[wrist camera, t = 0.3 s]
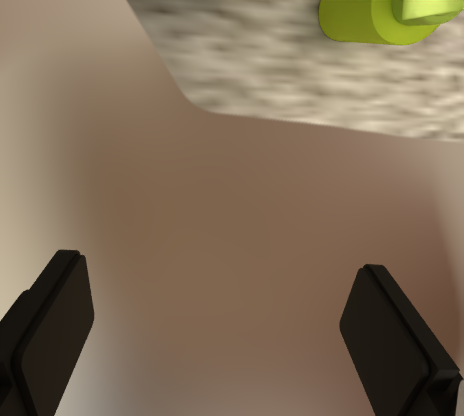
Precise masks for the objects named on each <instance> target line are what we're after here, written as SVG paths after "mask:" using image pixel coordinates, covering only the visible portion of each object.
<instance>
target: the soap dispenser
mask: <svg viewBox="0 0 464 416" xmlns="http://www.w3.org/2000/svg"><path fill="white" fill-rule="evenodd" d="M462 10H464V0H321V2H320V5H319V13H318V15H319V23H320V26H321V28H322V30H323V32H324V33H325V34H326V35H327V36H328V37H329V38H331V39H333V40H336V41H343V42H358V43H373V44H388V45H409V44H413V43H416V42H418V41H420V40H422V39H424V38H426V37H427V36H428V35H430V34H431V33H432V32H433V31H434V30H435V29H436V28H437V27H438V26H439V25H440V24H443V23H445V22H448V21H450V20H451V19H453V18H454V17H455V16H457V15H458V14H459V13H460V12H461V11H462Z"/></svg>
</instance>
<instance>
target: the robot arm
mask: <svg viewBox="0 0 464 416" xmlns="http://www.w3.org/2000/svg"><path fill="white" fill-rule="evenodd" d="M93 321H94V309H93V303H92V296H91V290H90V283H89V277H88V270H87V264H86V258H85V256H84V255H80V252H79V251H77V250H58V251H57V252H56V254H55V255H54V256H53V258H52V259H51V260H50V262H49V263H48V264H47V266H46V267H45V269H44V270H43V271H42V273H41V274H40V275H39V277H38V278H37V279H36V281H35V282H34V284H33V285H32V286H31V288H30V289H29V290H26V291H23V292H22V294H21V295H20V296H19V297H18V298H17V300H16V301H15V302H14V304H13V305H12V306H11V308H10V309H9V310H8V312H7V313H6V314H5V316H4V317H3V318H2V320H1V321H0V416H54V415H55V413H56V410H57V408H58V405H59V403H60V401H61V398H62V396H63V393H64V391H65V389H66V386H67V384H68V382H69V379H70V377H71V375H72V372H73V370H74V368H75V365H76V363H77V360H78V358H79V356H80V353H81V351H82V348H83V346H84V344H85V341H86V339H87V337H88V334H89V332H90V330H91V327H92V325H93ZM340 331H341V334H342V337H343V339H344V341H345V344H346V346H347V349H348V351H349V353H350V356H351V358H352V360H353V363H354V365H355V368H356V370H357V372H358V375H359V377H360V380H361V382H362V384H363V387H364V389H365V392H366V394H367V396H368V399H369V401H370V403H371V406H372V408H373V411H374V413H375V415H376V416H464V379H463V378H462V376H461V375H460V373H459V371H460V369H459V368H458V367H457V365H456V364H455V363H454V361H453V360H452V358H451V357H450V356H449V354H448V353H447V352H446V350H445V349H444V347H443V346H442V345H441V343H440V342H439V341H438V339H437V338H436V336H435V335H434V334H433V332H432V331H431V329H430V328H429V327H428V325H427V324H426V323H425V321H424V320H423V319H422V317H421V316H420V315H419V313H418V312H417V310H416V309H415V307H414V306H413V305H412V303H411V302H410V301H409V299H408V298H407V296H406V295H405V294H404V293H403V291H402V290H401V288H400V287H399V285H398V284H397V283H396V281H395V280H394V279H393V277H392V276H391V275H390V273H389V272H388V271H387V269H386V268H385V267H384V266H383V265H373V264H366V265H364V266H363V268H360V269H359V270H358V272H357V275H356V278H355V281H354V284H353V286H352V289H351V292H350V295H349V298H348V300H347V303H346V306H345V308H344V311H343V314H342V317H341V320H340Z"/></svg>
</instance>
